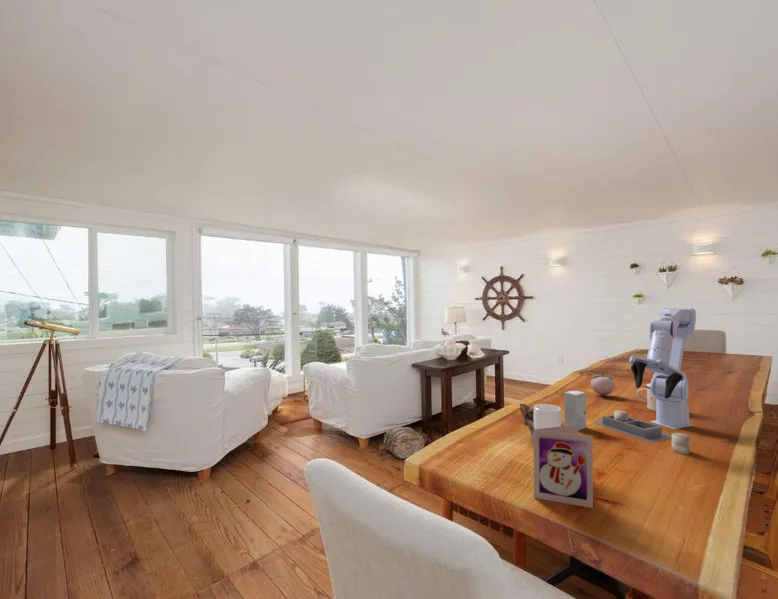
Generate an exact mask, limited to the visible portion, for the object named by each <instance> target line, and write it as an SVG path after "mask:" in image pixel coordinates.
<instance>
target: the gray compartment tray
mask: <svg viewBox="0 0 778 599" xmlns="http://www.w3.org/2000/svg"><path fill="white" fill-rule="evenodd" d="M590 423H592V424H595V425H597V426H599V427H603V428H607V429H609V430H612V431H614V432H617V433H621V434H623V435H626V436H629V437H632V438H635V439H638V440H640V441H643V442H646V443H648V444H649V443H650V444H652V443H656V442H660V441H665V440H669V439H672V434H668V433H665V432H662V430H663V429H662V428H663V427H662V426H661V425H658V424H655V423H652V422H647V421H643V420H640V419H638V418H637V419H636V418H633V417H630V416H628V421H627V422H621V421H618V420H615V419H614V414H610V415H604V416H602V419H600V420H596V421H592V422H590Z"/></svg>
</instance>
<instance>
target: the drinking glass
mask: <svg viewBox="0 0 778 599" xmlns="http://www.w3.org/2000/svg"><path fill="white" fill-rule="evenodd" d="M534 405H535V406H534V429H542V428H551V427H561V426H562V425H563V423H562V419H563V418H562V416H563V414H562V407H561V406H560V407H559V406H558V405H554V404H549V403H538V404H537V403H536V404H534Z"/></svg>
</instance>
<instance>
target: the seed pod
mask: <svg viewBox="0 0 778 599" xmlns="http://www.w3.org/2000/svg"><path fill="white" fill-rule="evenodd" d="M535 405H536V404H532V405H530V406H529V405H528V404H526V403H519V410H520V413H521V414H522V418H523V424H524V426H527V427H528V431H529V432H530V435H531V439H532V440H533V443H534V406H535ZM562 426H564V425H563V424H562Z"/></svg>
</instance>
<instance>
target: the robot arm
mask: <svg viewBox="0 0 778 599" xmlns="http://www.w3.org/2000/svg"><path fill="white" fill-rule="evenodd" d="M659 316H660V317H659V318H658V319H657V320H656V319H655V320H653V321H651V322H650V324H649V338H648V339H649V345H648V350H647V351H648V352H647V356H646V357H642V356H640V357H639V356H636V355H631V356H630V357H629V361H628V363H629V364H631V367H630V370H631V372H632V374H633V377H634V381H635V382H634V383H635V388H636V389H640V387H642V385H643V379H644V373H645V370H648V371H651V372H654V374H653V375H652V378H651V379H650V383H651V385H650V389H651V393H652V394H653V395H654V396H655V398H656V411H655V412H656V413H655V414H656V416H655V417H656V418H655V419H654V420H650V422H649V423H651V424H655V425H658V426H661V427H662V426H663V427H666V428H669V429H673V430H677V429H682V428H686V427H687V428H688V427H692V426H693V424H691V423H690V406H689V404H688V402H687V401H686V400H688V399H689V388H690V387H689V386H690V384H689V379H688V376H687V373H685V372H683V371H681V368H682V362H683V356H684V349H685V348H684V347H685V344H686V340H687V338H688V336H690V335H692V334H694V331H695V328H696V320H697V314H696V310H695V308H693V307H691V308H688V307H687V308H684V307H683V308H682V307H681V308H676V307H674V308H672V307H671V308H670V307H669V308H666V307H662V308H661V310H660V314H659Z"/></svg>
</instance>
